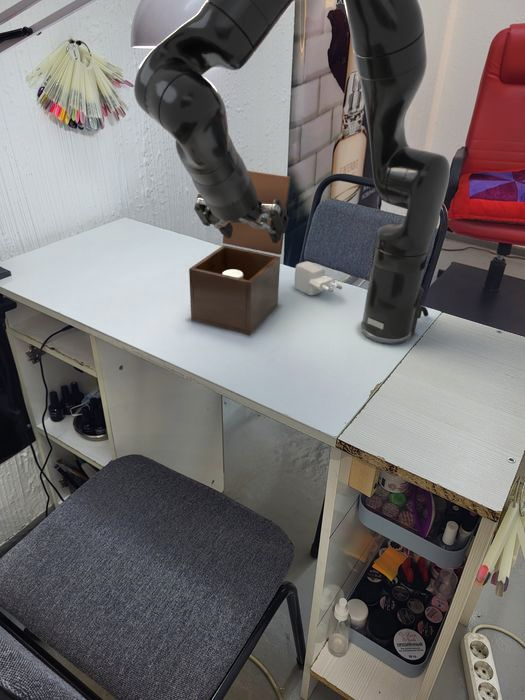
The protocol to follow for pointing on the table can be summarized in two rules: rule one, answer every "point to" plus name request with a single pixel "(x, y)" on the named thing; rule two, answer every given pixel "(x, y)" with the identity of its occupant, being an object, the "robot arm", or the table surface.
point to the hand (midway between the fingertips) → (253, 235)
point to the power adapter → (312, 279)
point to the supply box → (234, 289)
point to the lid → (249, 236)
